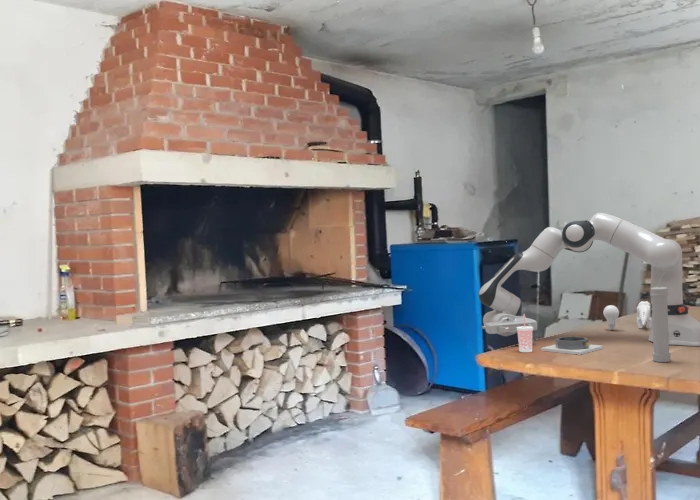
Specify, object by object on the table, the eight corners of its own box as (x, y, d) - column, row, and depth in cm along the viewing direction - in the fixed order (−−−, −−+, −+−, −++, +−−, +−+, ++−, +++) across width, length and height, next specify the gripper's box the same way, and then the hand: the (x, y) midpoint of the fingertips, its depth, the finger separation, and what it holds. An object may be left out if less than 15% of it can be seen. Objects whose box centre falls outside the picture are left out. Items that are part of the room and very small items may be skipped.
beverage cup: (531, 352, 251) (529, 315, 250) (515, 352, 254) (513, 314, 254) (536, 350, 256) (534, 313, 255) (520, 349, 259) (518, 312, 259)
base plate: (603, 348, 252) (603, 345, 252) (579, 355, 242) (579, 352, 242) (565, 344, 264) (565, 341, 264) (541, 350, 254) (541, 347, 254)
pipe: (649, 360, 227) (645, 270, 227) (667, 358, 228) (663, 269, 227) (658, 363, 222) (654, 271, 221) (676, 361, 222) (672, 270, 222)
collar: (596, 346, 252) (596, 338, 251) (580, 350, 244) (579, 342, 244) (564, 343, 262) (564, 335, 262) (547, 347, 255) (547, 339, 255)
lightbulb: (621, 331, 289) (620, 305, 288) (605, 331, 290) (604, 306, 290) (618, 329, 295) (617, 304, 294) (602, 329, 296) (601, 304, 296)
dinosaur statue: (654, 322, 304) (653, 298, 303) (652, 336, 283) (651, 310, 282) (637, 322, 307) (636, 298, 306) (634, 335, 286) (633, 309, 285)
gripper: (479, 319, 272) (492, 323, 259) (527, 315, 276) (543, 319, 262) (480, 334, 272) (493, 339, 259) (528, 330, 276) (543, 335, 262)
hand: (518, 329), depth 260 cm, fingers open, 8 cm apart
